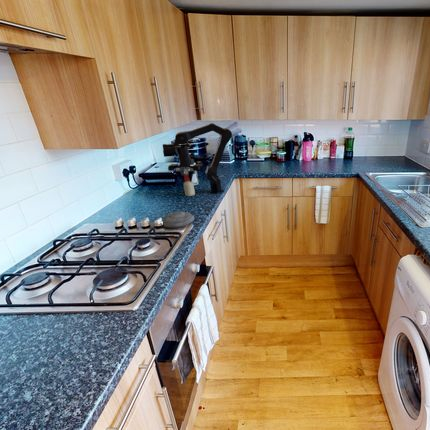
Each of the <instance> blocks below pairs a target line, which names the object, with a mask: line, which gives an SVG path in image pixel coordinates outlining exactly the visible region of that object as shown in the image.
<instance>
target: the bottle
mask: <svg viewBox="0 0 430 430" xmlns="http://www.w3.org/2000/svg"><path fill="white" fill-rule="evenodd" d="M183 189H184V195H185V196H186V197H191V196H195V195H196V191H195V185H194V184H193V182H192V181H191V182H190V181H185V182H184V181H183Z"/></svg>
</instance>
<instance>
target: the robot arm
mask: <svg viewBox="0 0 430 430" xmlns="http://www.w3.org/2000/svg"><path fill="white" fill-rule="evenodd" d="M211 132H214V133H215V134H217V135H219V142H218V146H217V148H216V151H215V153H214V156H213V159H212V162H211V164H210V166H209V165H207V166H206V169H205V171H204V172H205V177H206V179H207V180H208V181H209V186H210V190H208V191H209V193H213V194H219V193H222V192H225V191H224V189H222V182H221V177H220V176H219V175H218V168H219V166H220V163H221V161H222V158H223V154H224V152H225V149H226V146H227V145H228V143H230V140H231V139H232V137H233V132H232V131H231V130H230V129H229V128H227V127H221V126H220V125H217V124H216V123H214V122H211V123H209V124H205V125H203V126H200V127H197V128H195V129H192V130H186V131H185V130H184V131H178V132H177V133H176V134H175V137H174V138H175V139H174V141H173V142H172V143H167V144H166V143H163V144H162V153H163V157H165V158H167V157H175V156H176V155H177V157H178V158H177V160H178V161H179V163H172V164H169V165H168V166H167V171H168V172H175V173H177V174H178V176H179V177H180V179H181V180H182V181H183V183H184V182H185V181H184V174H185V172H184V169H189V170H190V171H188V174H189V179H190V182H191V181H192V177H193V173H194V171H197V172H200V171H202V170H203V169H204V166H203V164H202V163H196V164H195V165H194V163H195V159H193V158H191V156H190V155H189V148H191V147H192V145H191V144H190V143H189V141H190V140H192V139H194V138H196V137H200V136H202V135H205V134H207V133H211ZM191 165H193V166H191Z"/></svg>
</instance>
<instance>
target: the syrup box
mask: <svg viewBox="0 0 430 430" xmlns="http://www.w3.org/2000/svg"><path fill="white" fill-rule="evenodd" d="M195 164H197V163H196V162H194V165H195ZM191 166H193V165H191ZM188 171H190V170H189V169H184V174H188ZM198 176H199V175H198V171H194V173H193V177H192V182H193V184H194V186H197V185H199V184H200V182H199V177H198Z"/></svg>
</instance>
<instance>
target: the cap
mask: <svg viewBox="0 0 430 430" xmlns="http://www.w3.org/2000/svg"><path fill="white" fill-rule="evenodd" d="M184 181H190V179H189V174H185V173H184ZM184 181H183V182H184Z"/></svg>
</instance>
